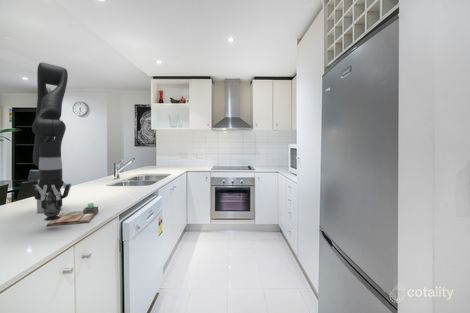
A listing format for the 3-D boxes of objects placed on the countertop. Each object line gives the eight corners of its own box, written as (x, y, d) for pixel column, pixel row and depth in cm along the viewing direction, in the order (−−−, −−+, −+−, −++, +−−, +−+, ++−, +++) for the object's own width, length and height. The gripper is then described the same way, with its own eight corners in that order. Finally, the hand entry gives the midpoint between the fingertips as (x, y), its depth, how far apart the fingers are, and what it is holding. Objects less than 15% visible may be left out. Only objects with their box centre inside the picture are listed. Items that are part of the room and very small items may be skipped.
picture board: (46, 226, 99) (46, 219, 99) (62, 214, 116) (61, 208, 116) (89, 222, 105) (89, 216, 105) (98, 211, 122) (98, 205, 122)
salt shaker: (41, 221, 93) (40, 192, 92) (45, 217, 98) (44, 189, 97) (59, 219, 96) (58, 191, 95) (62, 215, 101) (61, 188, 100)
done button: (87, 210, 115) (86, 204, 115) (88, 209, 118) (88, 203, 118) (93, 210, 116) (92, 204, 116) (94, 208, 119) (94, 203, 118)
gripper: (74, 166, 101) (75, 205, 102) (34, 167, 97) (35, 207, 98) (67, 168, 94) (68, 210, 95) (24, 169, 90) (26, 212, 91)
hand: (52, 208), depth 97 cm, fingers closed on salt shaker, 4 cm apart
